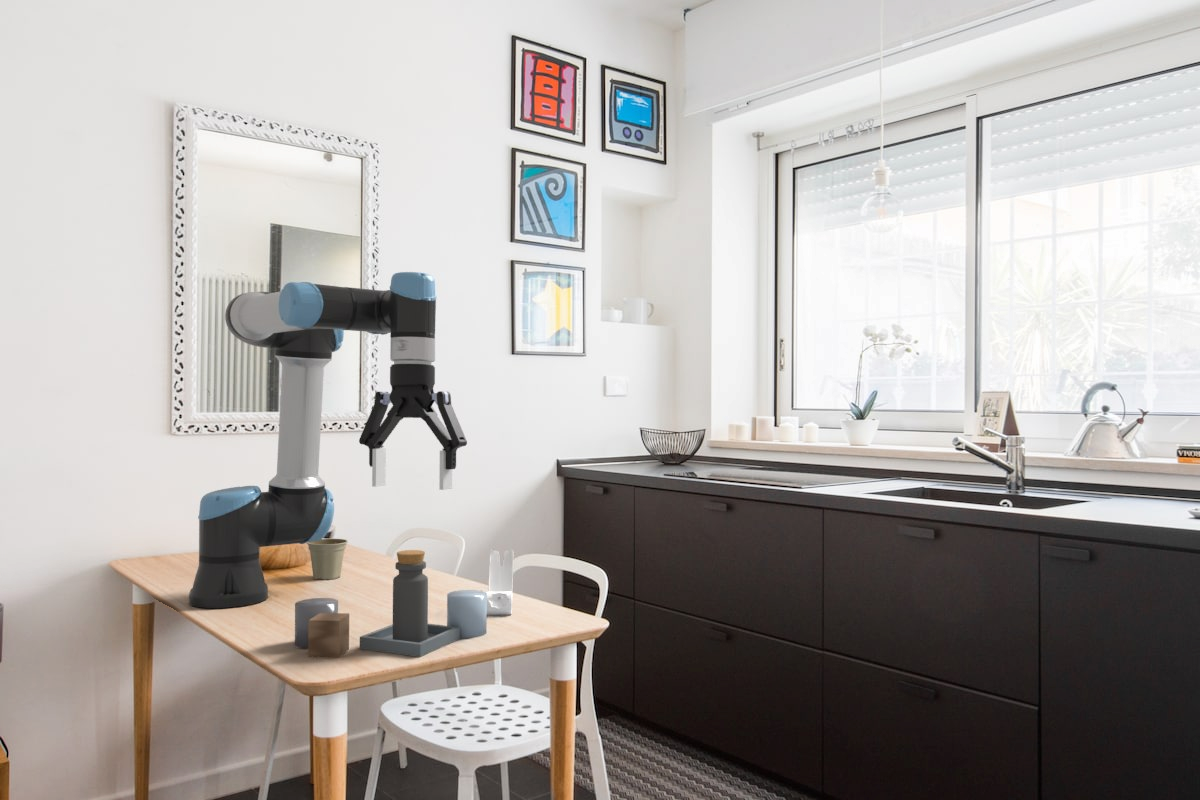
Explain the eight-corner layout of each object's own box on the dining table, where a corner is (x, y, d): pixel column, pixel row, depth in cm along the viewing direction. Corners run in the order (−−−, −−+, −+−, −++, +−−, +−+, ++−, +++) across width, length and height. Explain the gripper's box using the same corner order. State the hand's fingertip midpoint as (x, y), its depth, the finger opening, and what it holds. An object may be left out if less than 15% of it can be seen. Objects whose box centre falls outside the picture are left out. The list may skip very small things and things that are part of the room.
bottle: (410, 646, 143) (411, 556, 143) (385, 641, 146) (385, 552, 146) (434, 638, 148) (435, 551, 148) (409, 633, 151) (410, 548, 151)
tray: (359, 648, 143) (359, 636, 143) (402, 631, 154) (402, 620, 154) (420, 656, 139) (420, 644, 139) (459, 638, 150) (459, 627, 150)
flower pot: (356, 576, 206) (356, 540, 206) (324, 583, 198) (324, 545, 198) (329, 572, 211) (330, 537, 211) (297, 578, 203) (298, 542, 203)
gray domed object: (285, 646, 145) (285, 604, 145) (314, 636, 151) (314, 596, 151) (318, 650, 142) (319, 608, 142) (346, 640, 149) (346, 600, 149)
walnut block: (308, 657, 138) (308, 620, 138) (319, 649, 143) (319, 613, 143) (339, 658, 138) (339, 620, 138) (349, 649, 143) (349, 613, 143)
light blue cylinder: (439, 635, 152) (439, 596, 152) (460, 626, 159) (460, 588, 159) (473, 639, 149) (473, 599, 149) (493, 630, 156) (493, 591, 156)
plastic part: (472, 617, 166) (472, 557, 167) (477, 605, 176) (477, 548, 176) (511, 616, 167) (511, 556, 167) (513, 604, 177) (513, 548, 177)
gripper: (339, 363, 149) (338, 486, 148) (464, 361, 139) (463, 492, 139) (366, 365, 155) (365, 483, 155) (487, 363, 146) (486, 488, 146)
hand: (411, 487), depth 147 cm, fingers open, 13 cm apart
